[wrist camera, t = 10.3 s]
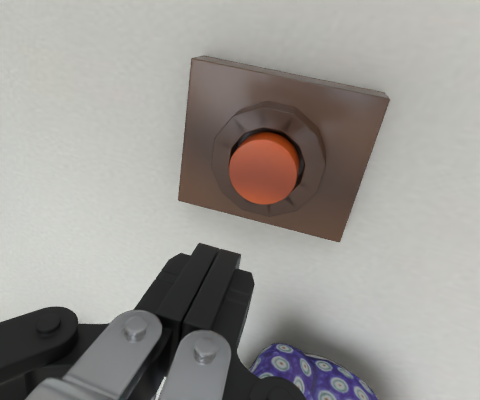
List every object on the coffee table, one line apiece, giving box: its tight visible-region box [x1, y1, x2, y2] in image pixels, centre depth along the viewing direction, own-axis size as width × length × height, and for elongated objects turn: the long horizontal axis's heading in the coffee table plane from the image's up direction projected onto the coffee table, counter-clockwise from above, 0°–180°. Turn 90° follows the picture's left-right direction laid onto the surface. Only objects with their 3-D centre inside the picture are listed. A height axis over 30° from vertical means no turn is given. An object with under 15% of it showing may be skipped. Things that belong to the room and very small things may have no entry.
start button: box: [229, 132, 299, 204], centre depth 22 cm, size 4×4×2 cm
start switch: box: [178, 56, 390, 242], centre depth 24 cm, size 10×12×4 cm
